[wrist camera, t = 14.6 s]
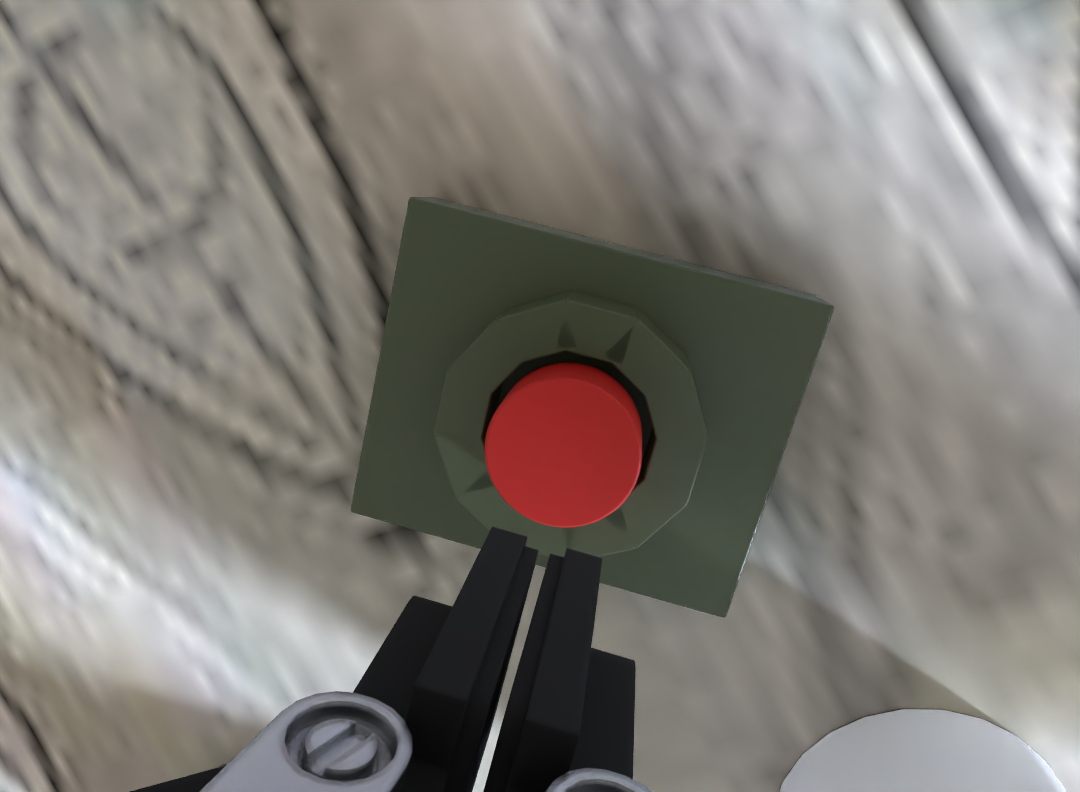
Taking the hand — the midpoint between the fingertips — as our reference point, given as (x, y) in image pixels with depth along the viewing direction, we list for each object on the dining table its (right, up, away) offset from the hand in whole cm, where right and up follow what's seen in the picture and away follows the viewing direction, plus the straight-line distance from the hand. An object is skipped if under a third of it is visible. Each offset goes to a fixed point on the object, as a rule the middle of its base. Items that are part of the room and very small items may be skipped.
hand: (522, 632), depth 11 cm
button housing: (+1, +3, +11) cm, 12 cm away
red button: (+1, +3, +8) cm, 8 cm away
